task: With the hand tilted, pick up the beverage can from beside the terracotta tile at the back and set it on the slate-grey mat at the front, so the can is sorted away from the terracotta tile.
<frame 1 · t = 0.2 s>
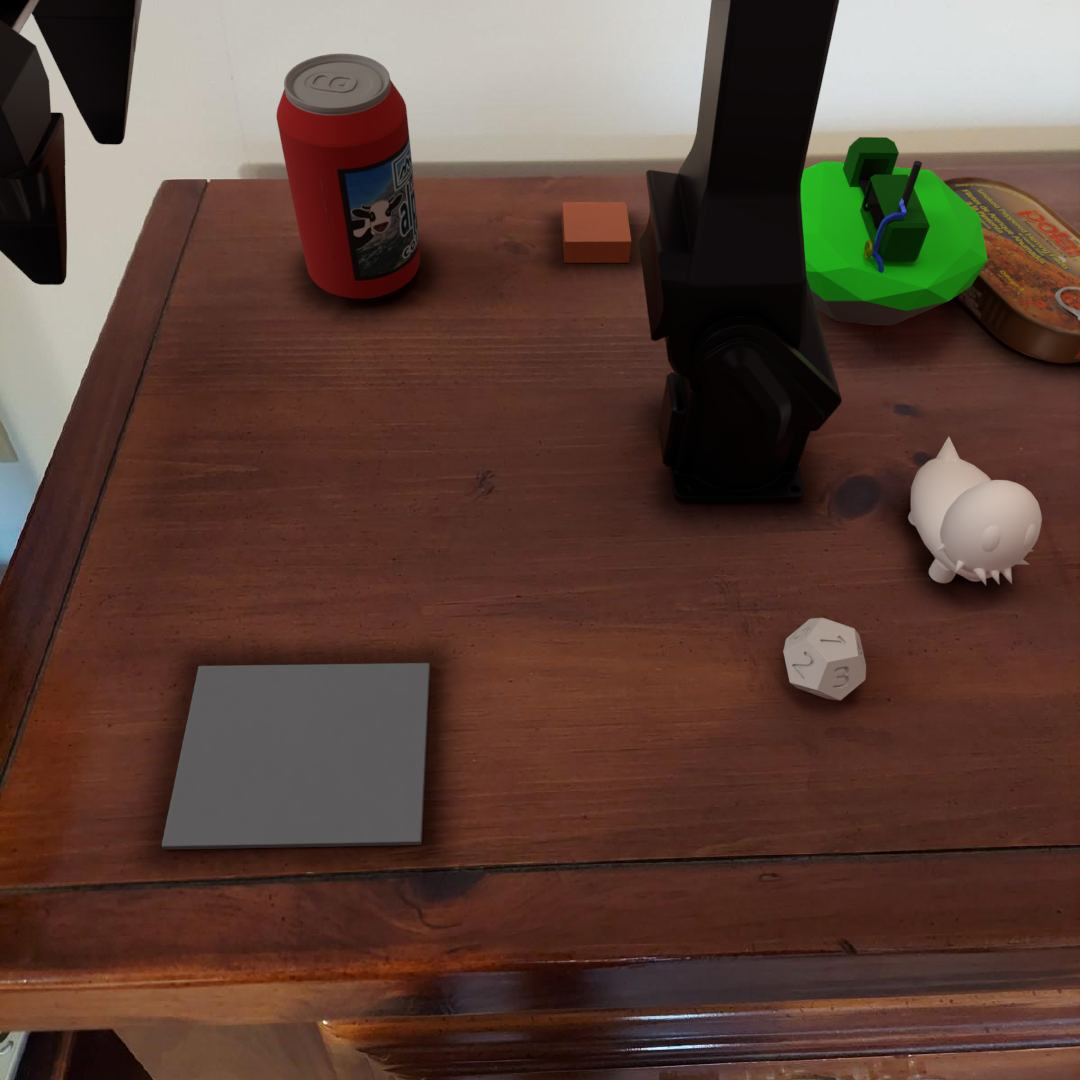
hand: (83, 207, 40), 15 cm above the table, tool pointing down, fingers open, 9 cm apart
tin: (956, 287, 59), point 1 cm above the table
terracotta tile: (594, 243, 63), on the table
grey mat: (305, 753, 42), on the table
game die: (815, 678, 44), on the table
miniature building: (851, 300, 60), on the table
toy creature: (946, 551, 49), on the table
beverage can: (365, 275, 61), on the table
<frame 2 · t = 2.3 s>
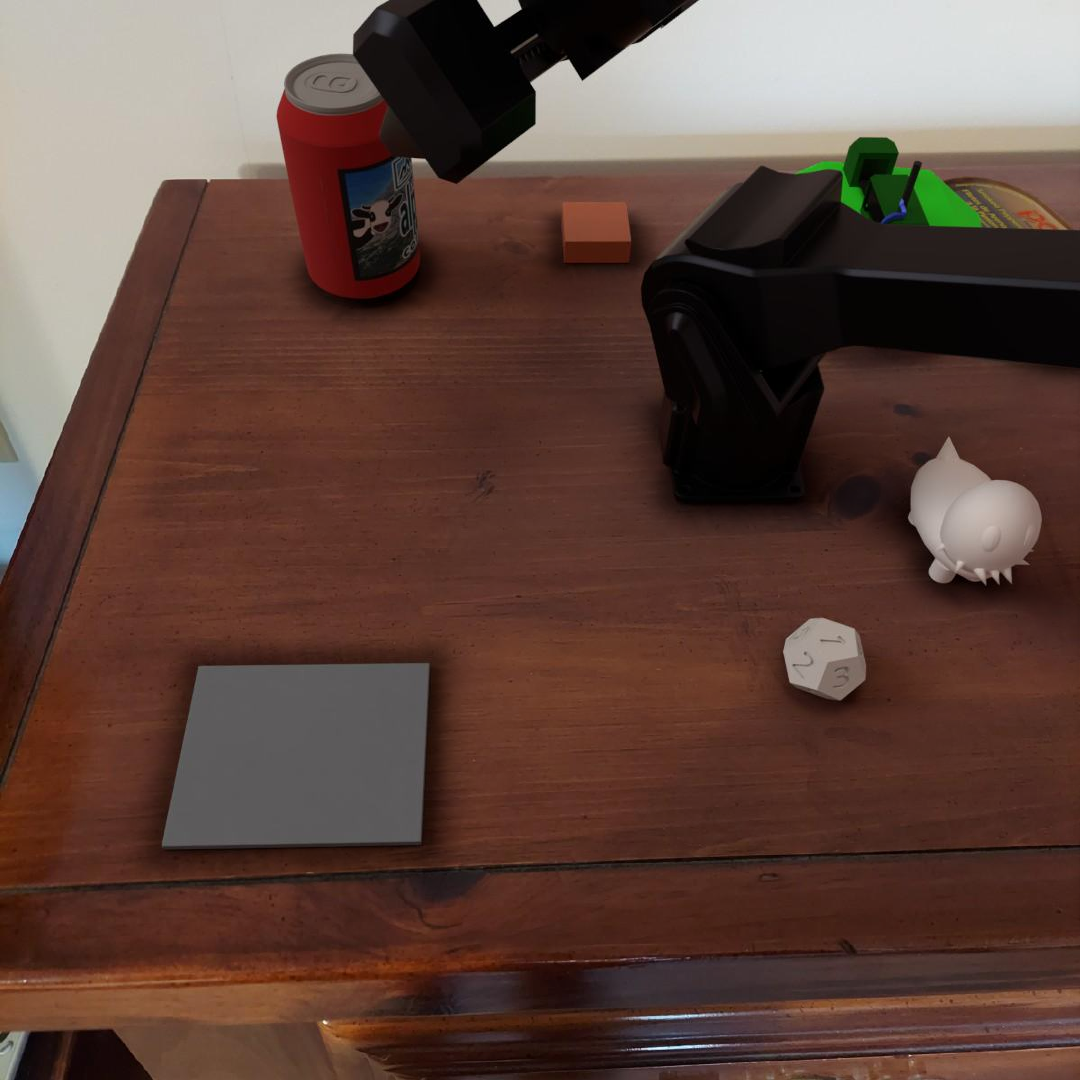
hand: (451, 101, 47), 13 cm above the table, tool tilted 45°, fingers open, 9 cm apart
nothing on the table moved.
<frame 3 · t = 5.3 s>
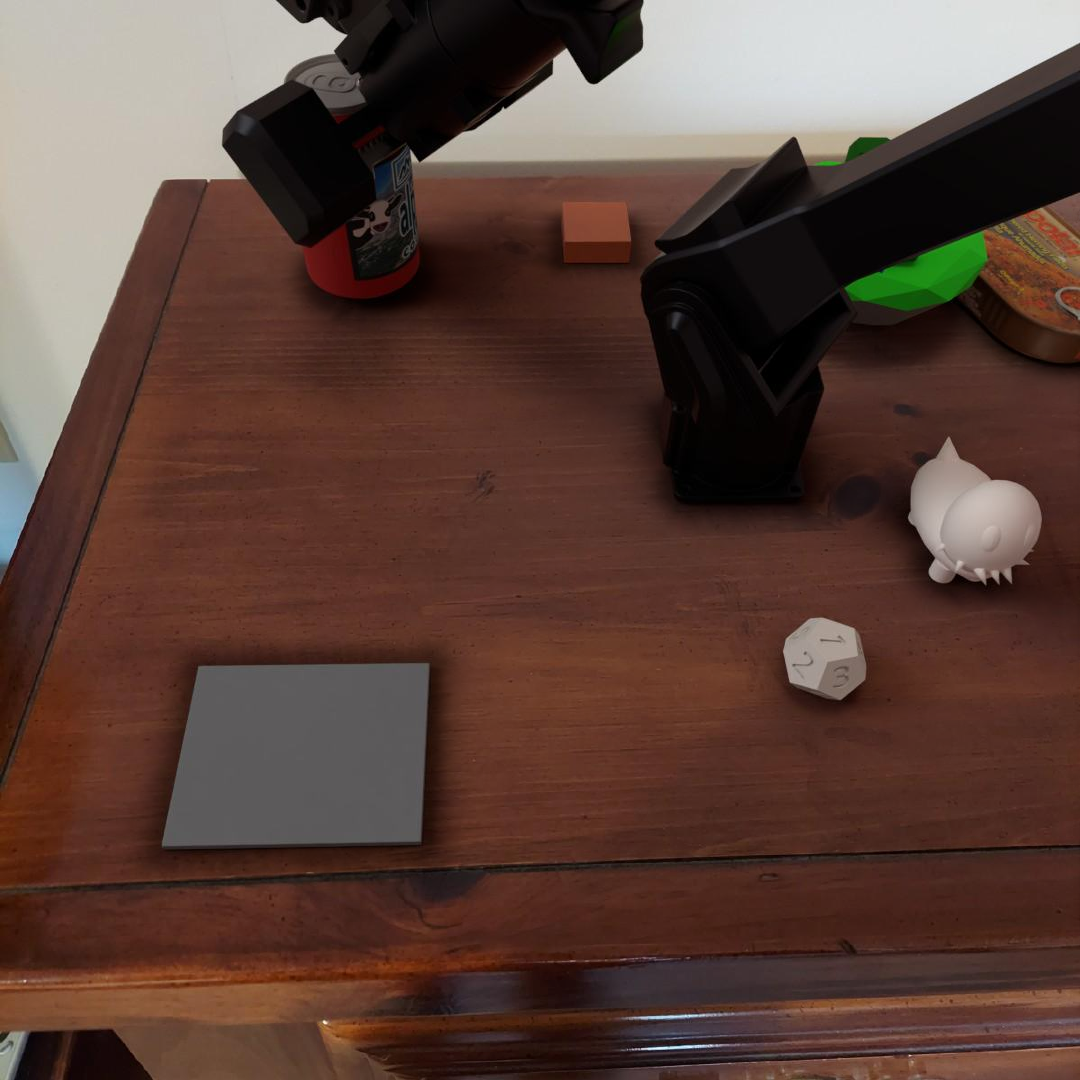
hand: (332, 165, 56), 7 cm above the table, tool tilted 45°, fingers closed on beverage can, 7 cm apart
beverage can: (365, 275, 61), on the table, touching gripper
everything else where it was.
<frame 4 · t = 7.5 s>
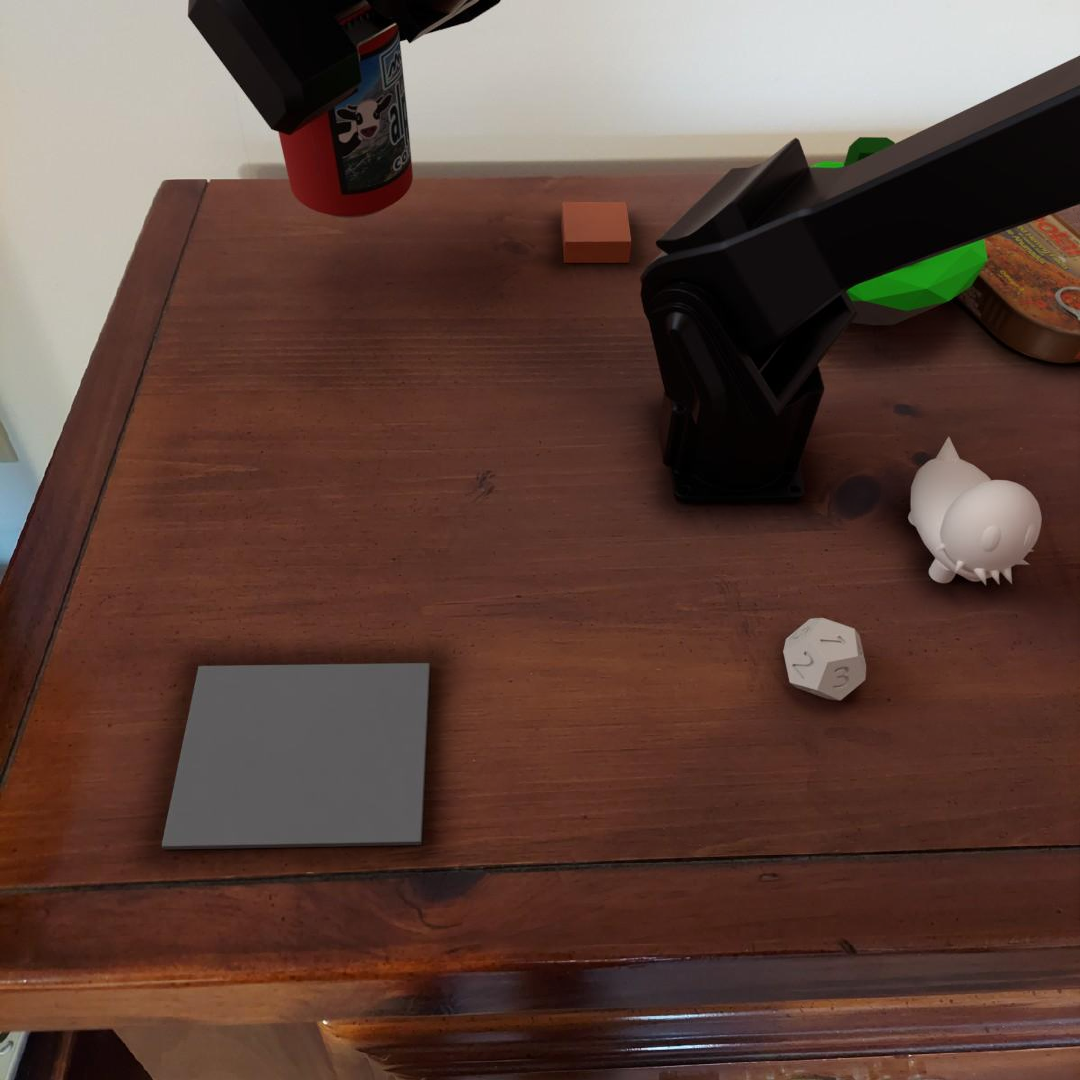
hand: (315, 67, 51), 12 cm above the table, tool tilted 45°, fingers closed on beverage can, 7 cm apart
beverage can: (354, 195, 56), point 5 cm above the table, touching gripper
everything else where it was.
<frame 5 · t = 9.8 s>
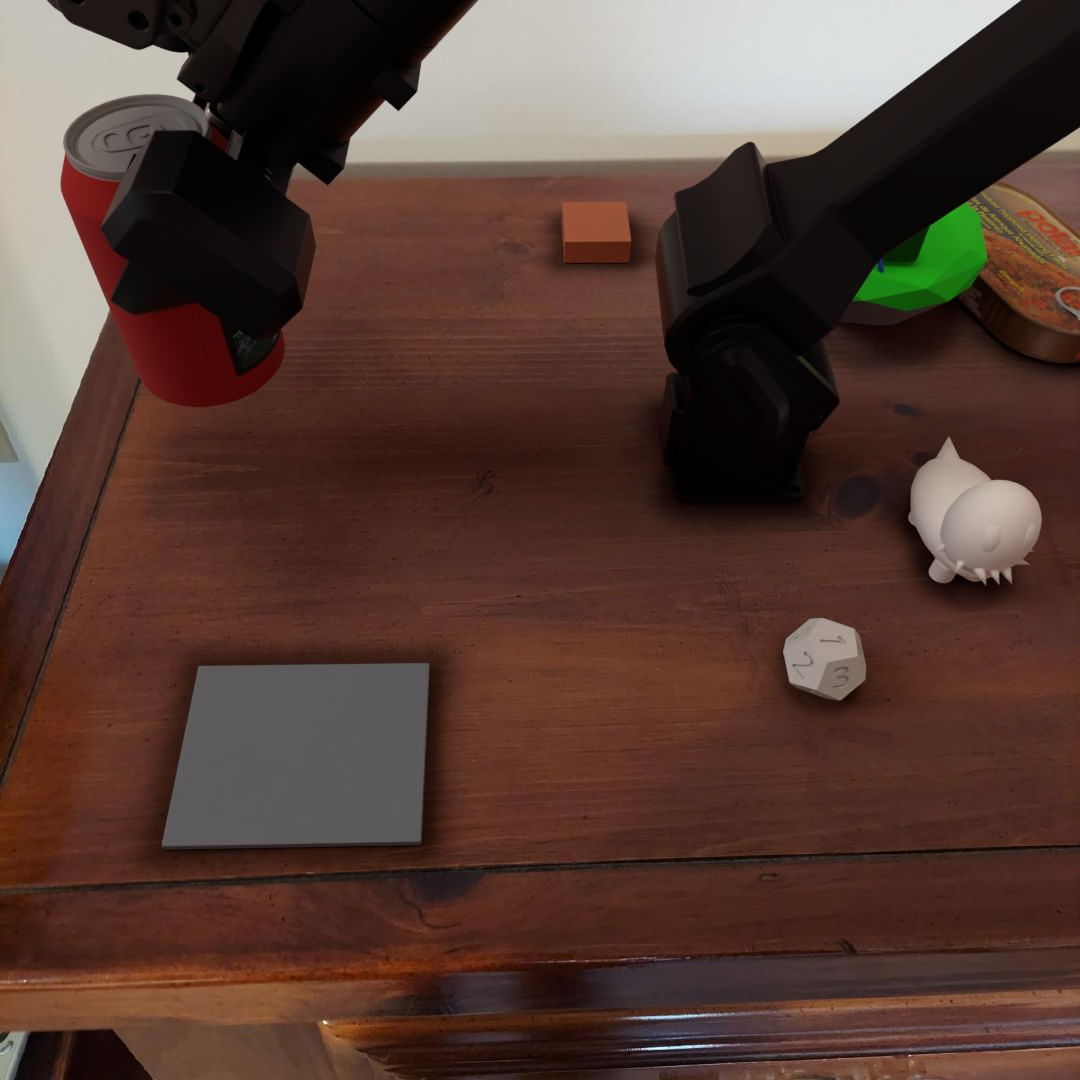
hand: (144, 250, 42), 12 cm above the table, tool tilted 45°, fingers closed on beverage can, 7 cm apart
beverage can: (217, 371, 47), point 5 cm above the table, touching gripper
everything else where it was.
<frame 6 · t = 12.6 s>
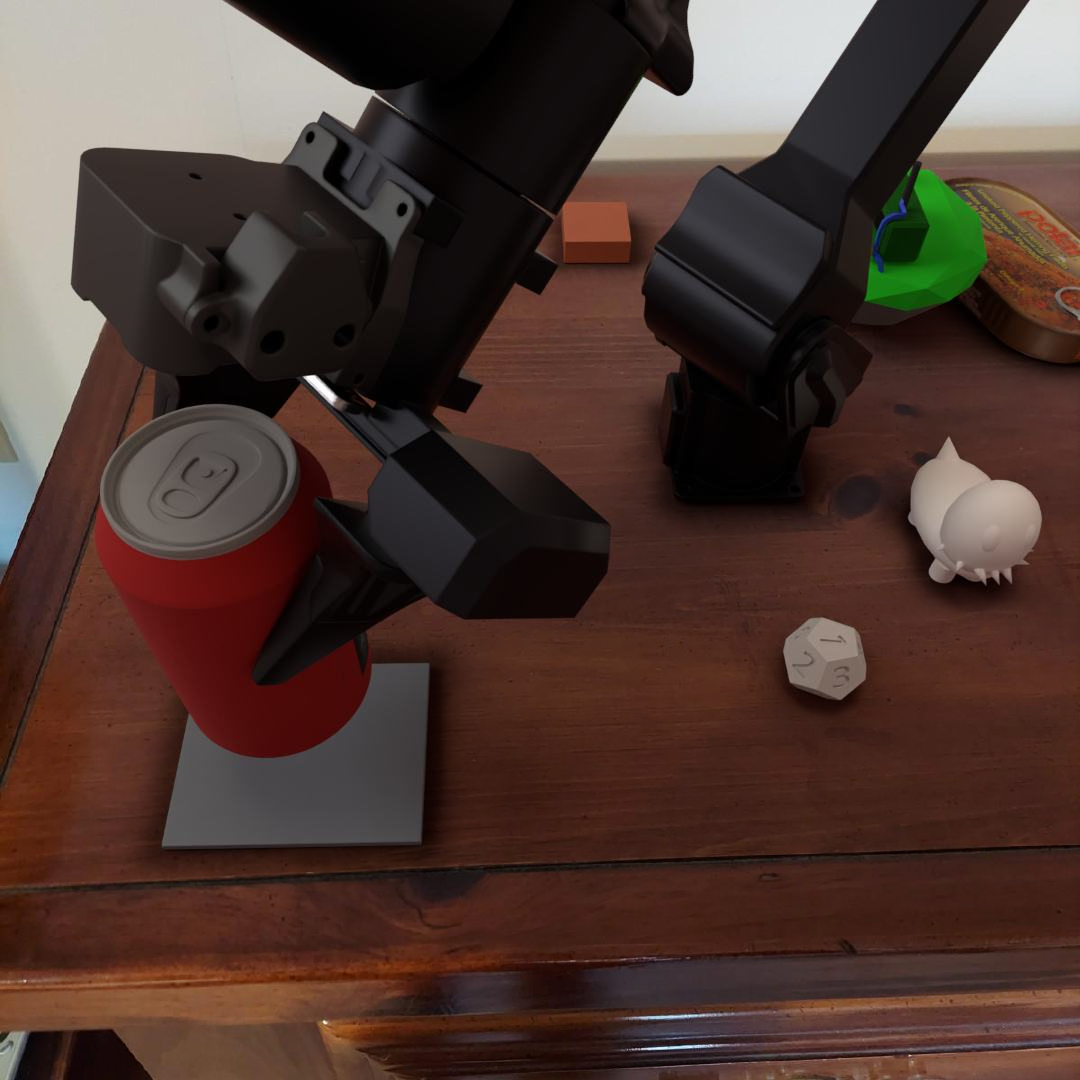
hand: (205, 606, 31), 12 cm above the table, tool tilted 45°, fingers closed on beverage can, 7 cm apart
beverage can: (285, 686, 37), point 5 cm above the table, touching gripper
everything else where it was.
when the fingers open (7 cm above the table, at t = 14.6 s): beverage can stays where it is, resting on grey mat.
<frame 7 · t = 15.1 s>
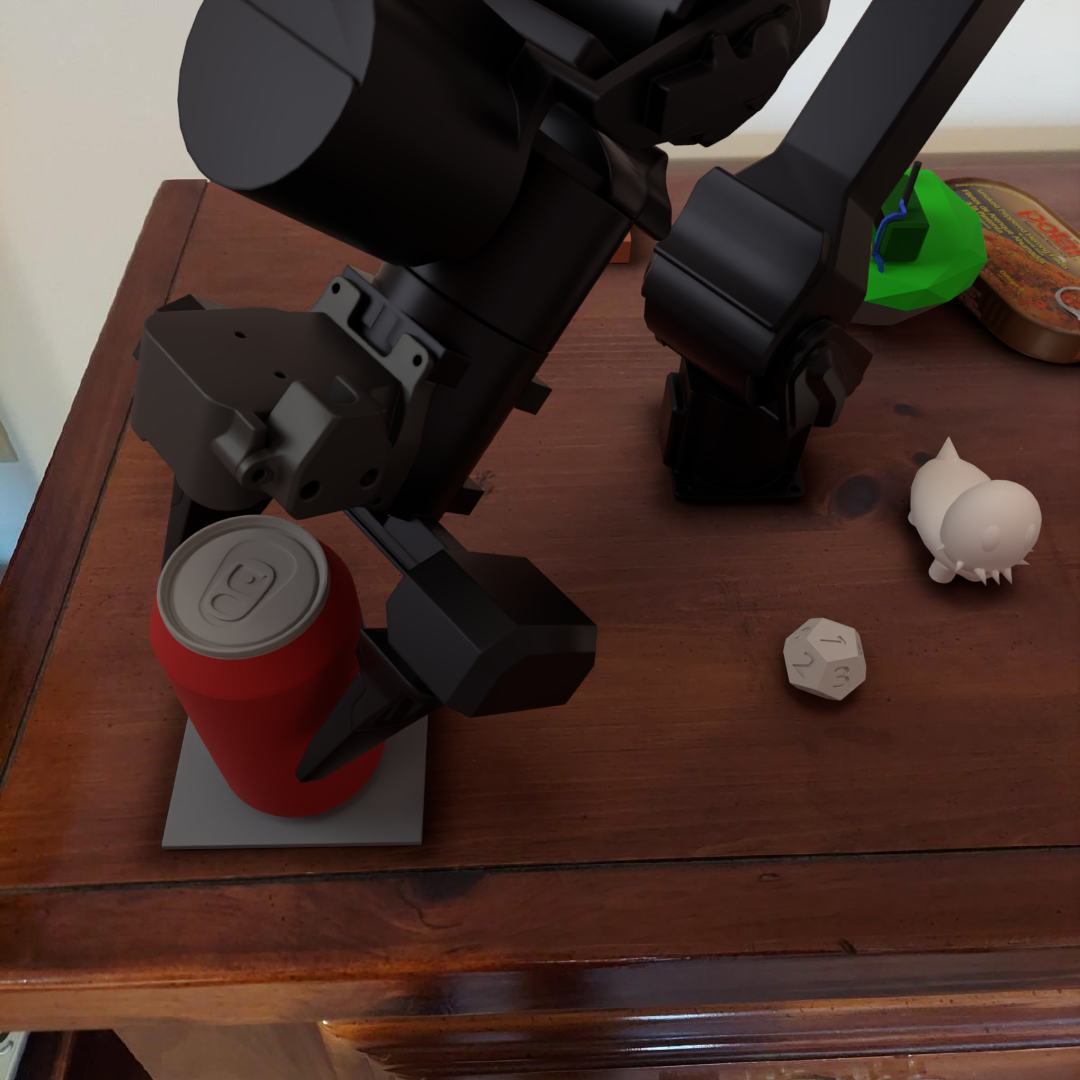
hand: (234, 683, 35), 7 cm above the table, tool tilted 45°, fingers open, 9 cm apart
beverage can: (307, 749, 42), resting on grey mat
everything else where it was.
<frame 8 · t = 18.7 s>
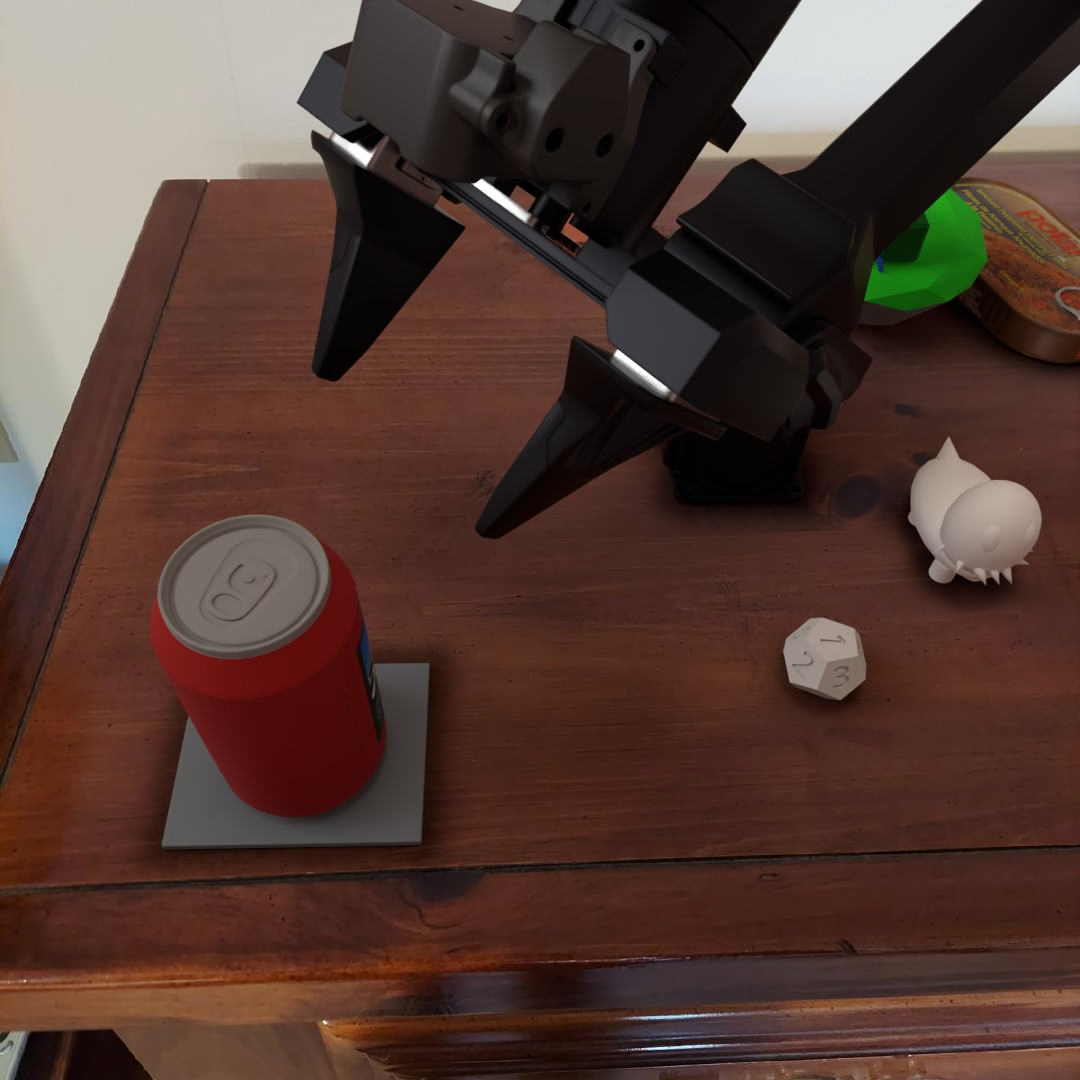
hand: (399, 451, 34), 14 cm above the table, tool tilted 45°, fingers open, 9 cm apart
nothing on the table moved.
at the end: beverage can inside the target area on the grey mat (0.1 cm from its centre), point 0.2 cm above the grey mat's base; beverage can tilted 0°; terracotta tile moved 0.0 cm from its start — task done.
